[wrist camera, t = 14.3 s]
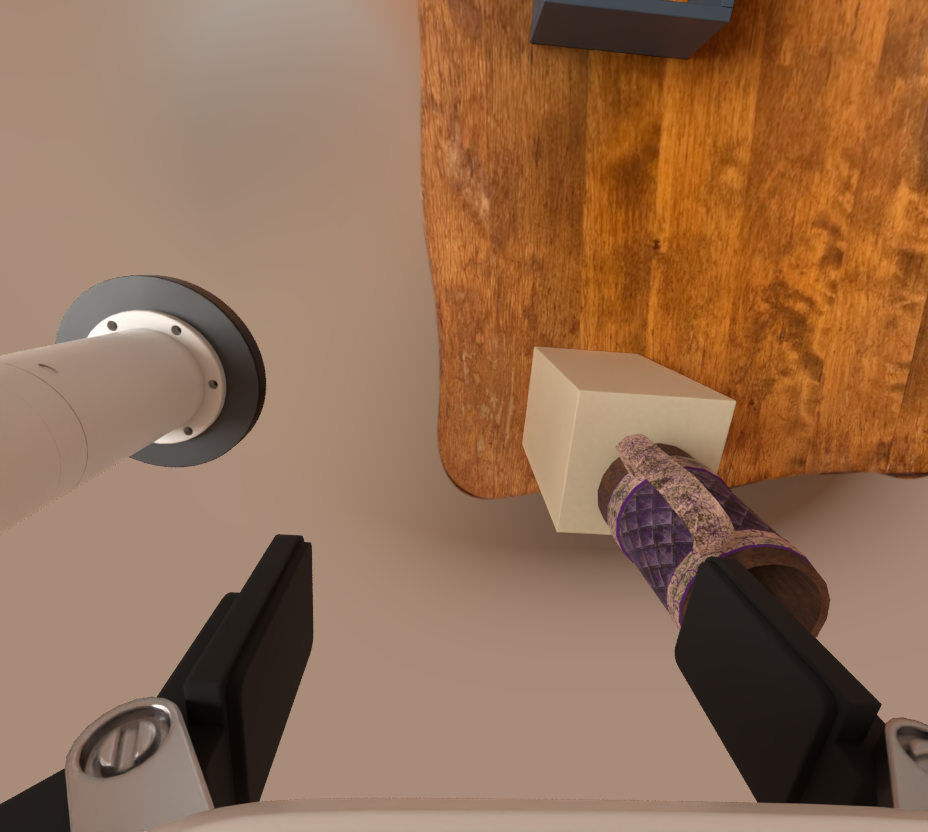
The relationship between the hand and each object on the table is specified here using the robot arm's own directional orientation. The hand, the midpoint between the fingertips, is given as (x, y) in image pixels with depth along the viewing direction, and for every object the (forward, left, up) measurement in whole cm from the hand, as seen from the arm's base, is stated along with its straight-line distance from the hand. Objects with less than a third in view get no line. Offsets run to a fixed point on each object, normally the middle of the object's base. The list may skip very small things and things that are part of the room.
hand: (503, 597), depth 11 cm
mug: (+11, -4, -18) cm, 22 cm away
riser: (+12, -4, -34) cm, 36 cm away
